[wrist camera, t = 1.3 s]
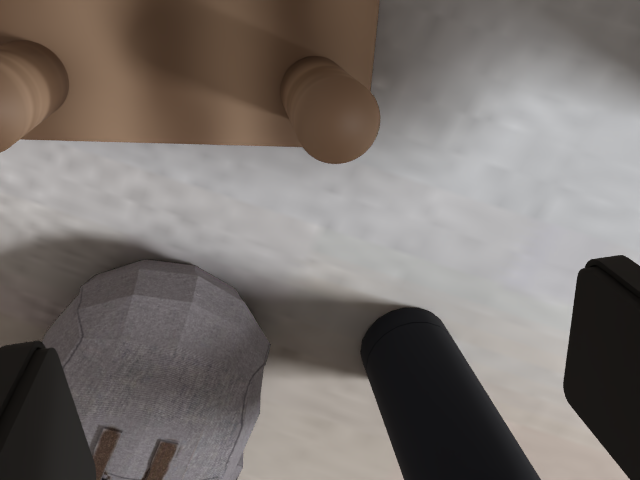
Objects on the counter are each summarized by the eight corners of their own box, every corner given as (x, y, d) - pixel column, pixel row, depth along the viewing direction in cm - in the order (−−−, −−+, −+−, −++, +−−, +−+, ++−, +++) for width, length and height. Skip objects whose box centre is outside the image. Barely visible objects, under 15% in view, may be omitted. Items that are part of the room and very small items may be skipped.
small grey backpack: (200, 498, 45) (308, 286, 38) (195, 603, 37) (328, 362, 31) (-6, 455, 40) (76, 207, 34) (-60, 565, 33) (33, 273, 26)
